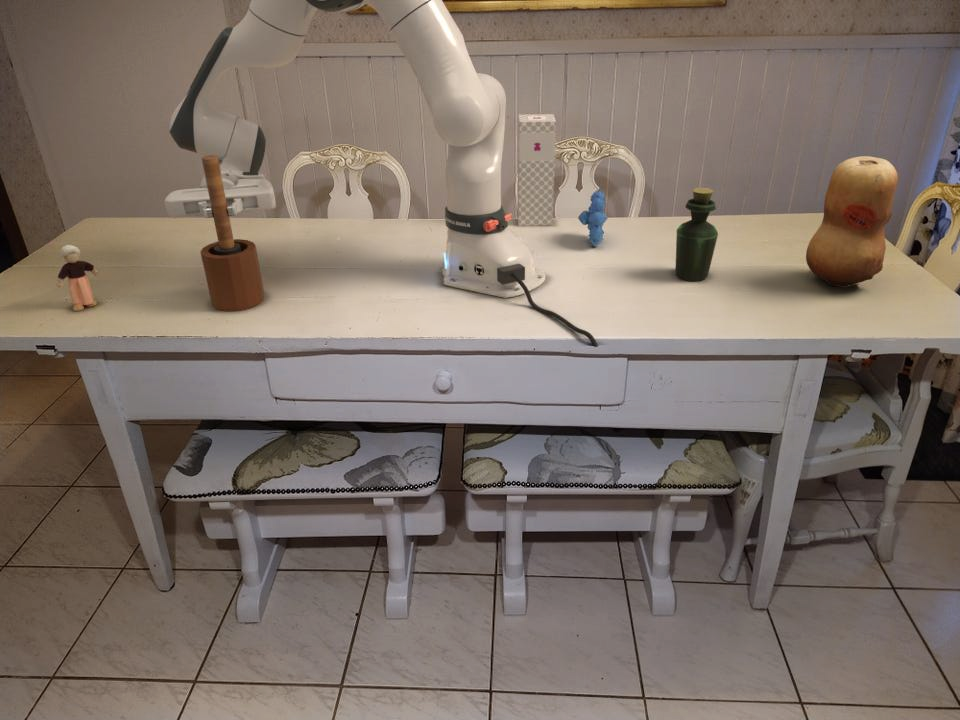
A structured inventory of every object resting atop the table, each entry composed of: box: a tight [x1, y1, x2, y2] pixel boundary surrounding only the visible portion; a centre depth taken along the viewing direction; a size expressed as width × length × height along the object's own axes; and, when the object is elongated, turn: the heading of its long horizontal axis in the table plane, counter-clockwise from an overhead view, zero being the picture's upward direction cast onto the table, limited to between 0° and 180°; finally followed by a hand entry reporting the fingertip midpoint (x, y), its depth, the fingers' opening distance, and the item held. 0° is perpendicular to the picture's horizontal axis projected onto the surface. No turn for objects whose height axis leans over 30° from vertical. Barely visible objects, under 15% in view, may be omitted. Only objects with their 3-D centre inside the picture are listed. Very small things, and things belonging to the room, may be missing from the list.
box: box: [516, 113, 557, 227], centre depth 178 cm, size 8×8×25 cm
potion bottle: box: [675, 187, 719, 282], centre depth 147 cm, size 8×8×18 cm
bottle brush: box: [201, 155, 241, 256], centre depth 137 cm, size 5×5×24 cm
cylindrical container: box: [200, 238, 265, 312], centre depth 142 cm, size 10×10×11 cm
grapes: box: [577, 189, 608, 247], centre depth 167 cm, size 12×7×12 cm, turn 173°
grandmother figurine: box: [56, 244, 99, 312], centre depth 141 cm, size 8×4×13 cm, turn 148°
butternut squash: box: [805, 155, 899, 288], centre depth 141 cm, size 14×13×25 cm
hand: (220, 212), depth 135 cm, fingers closed on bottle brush, 3 cm apart
